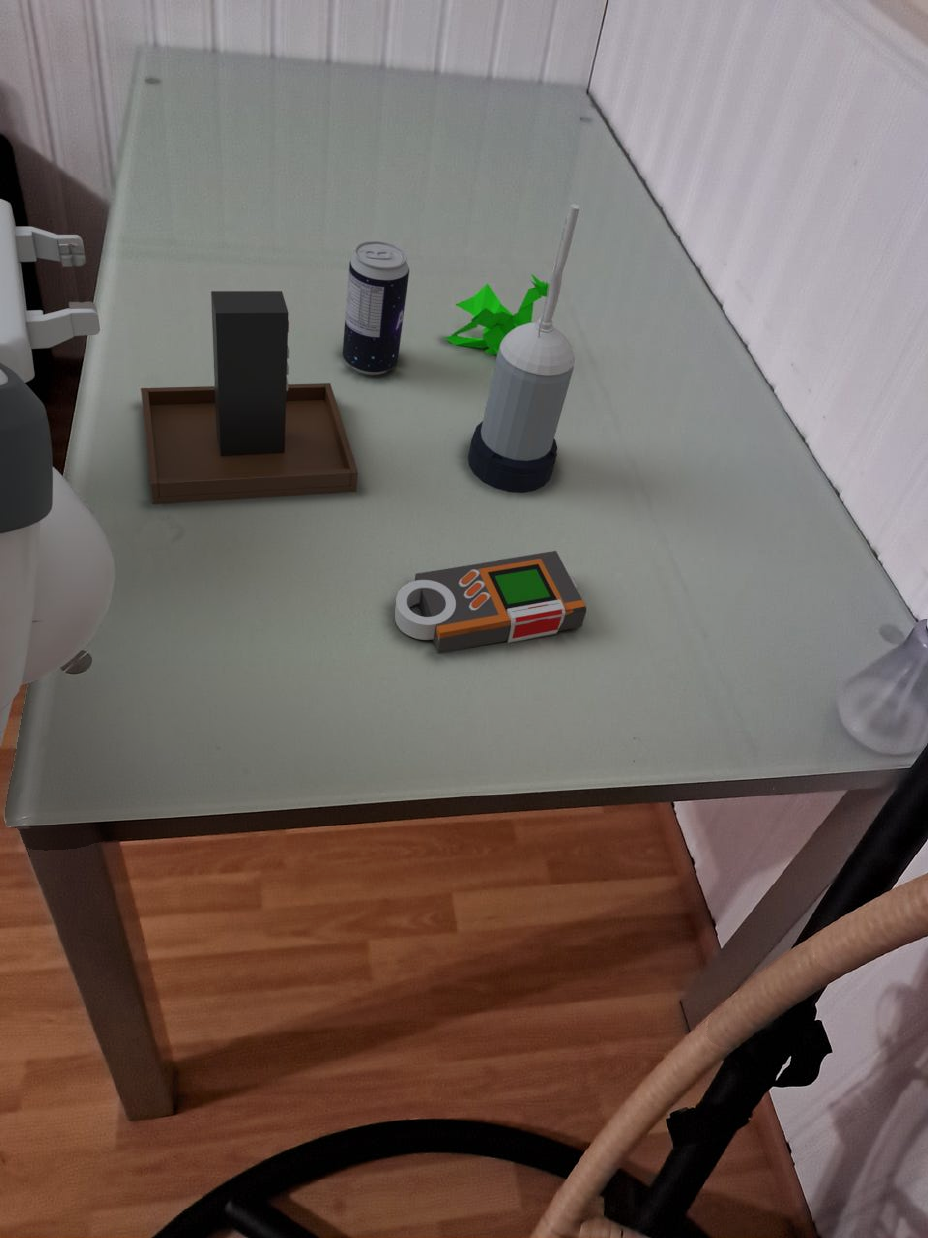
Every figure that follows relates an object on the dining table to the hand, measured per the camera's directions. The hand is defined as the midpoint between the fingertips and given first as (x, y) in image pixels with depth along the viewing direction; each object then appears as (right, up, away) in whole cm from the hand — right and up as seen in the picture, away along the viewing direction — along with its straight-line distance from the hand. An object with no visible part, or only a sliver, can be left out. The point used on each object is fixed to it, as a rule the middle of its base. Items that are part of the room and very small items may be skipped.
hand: (91, 282), depth 70 cm
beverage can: (+18, +1, +28) cm, 33 cm away
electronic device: (+29, -24, +7) cm, 39 cm away
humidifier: (+32, -10, +21) cm, 39 cm away
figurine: (+30, +4, +34) cm, 46 cm away
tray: (+8, -9, +16) cm, 20 cm away
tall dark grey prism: (+8, -9, +15) cm, 20 cm away
